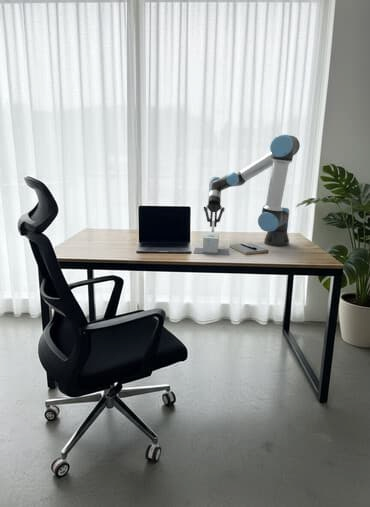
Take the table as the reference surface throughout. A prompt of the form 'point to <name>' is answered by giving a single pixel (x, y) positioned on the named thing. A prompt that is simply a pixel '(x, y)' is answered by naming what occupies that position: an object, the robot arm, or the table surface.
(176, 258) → the table surface
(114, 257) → the table surface
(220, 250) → the felt pad
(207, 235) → the ink box
